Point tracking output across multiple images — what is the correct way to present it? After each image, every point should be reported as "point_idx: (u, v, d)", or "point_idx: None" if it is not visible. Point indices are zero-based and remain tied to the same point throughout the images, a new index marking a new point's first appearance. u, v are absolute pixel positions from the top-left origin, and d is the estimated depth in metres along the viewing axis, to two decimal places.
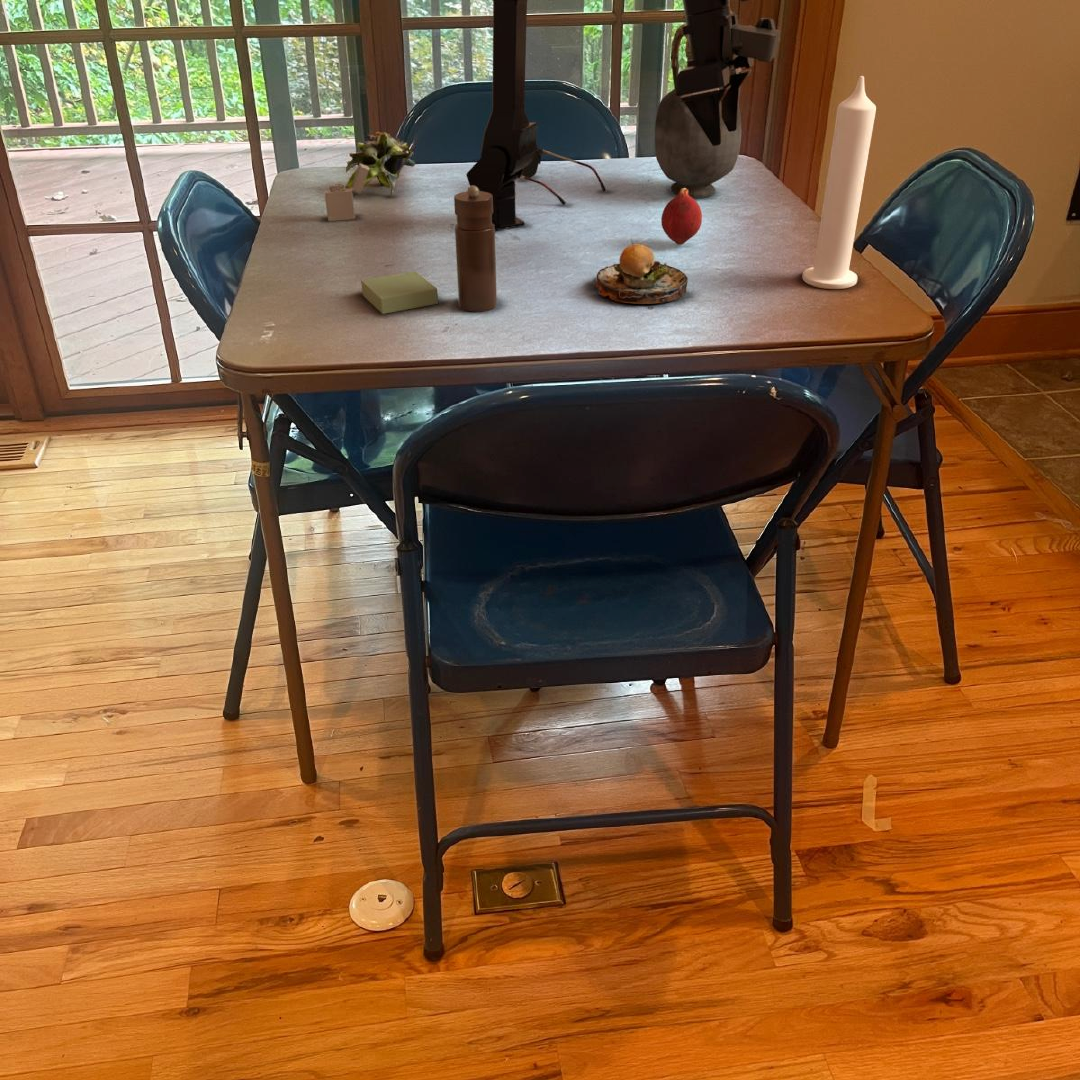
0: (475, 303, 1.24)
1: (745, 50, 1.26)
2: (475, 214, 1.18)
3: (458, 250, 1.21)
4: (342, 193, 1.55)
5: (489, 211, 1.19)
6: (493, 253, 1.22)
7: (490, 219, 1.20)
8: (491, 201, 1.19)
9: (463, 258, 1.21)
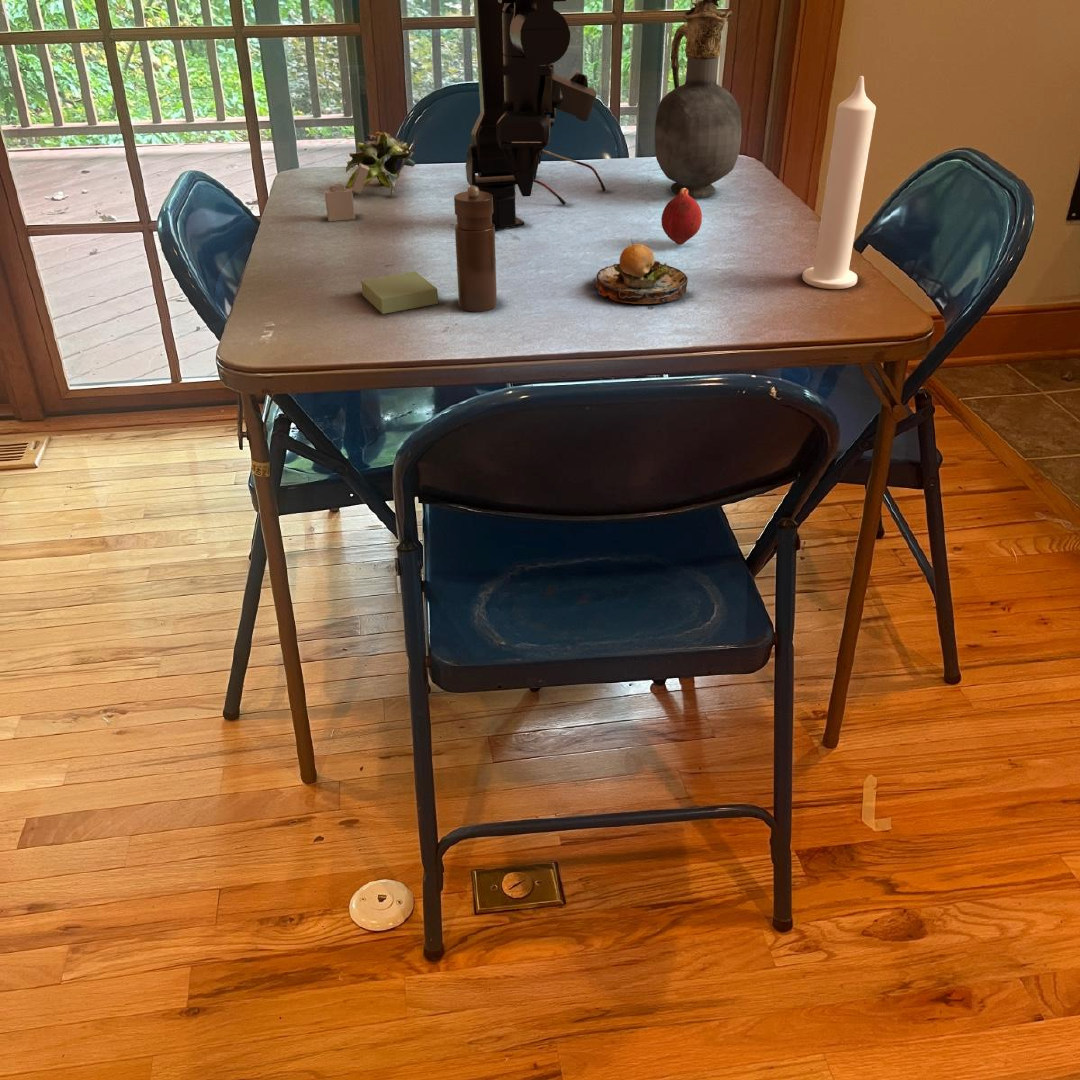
0: (475, 303, 1.24)
1: (564, 105, 1.22)
2: (475, 214, 1.18)
3: (458, 250, 1.21)
4: (342, 193, 1.55)
5: (489, 211, 1.19)
6: (493, 253, 1.22)
7: (490, 219, 1.20)
8: (491, 201, 1.19)
9: (463, 258, 1.21)
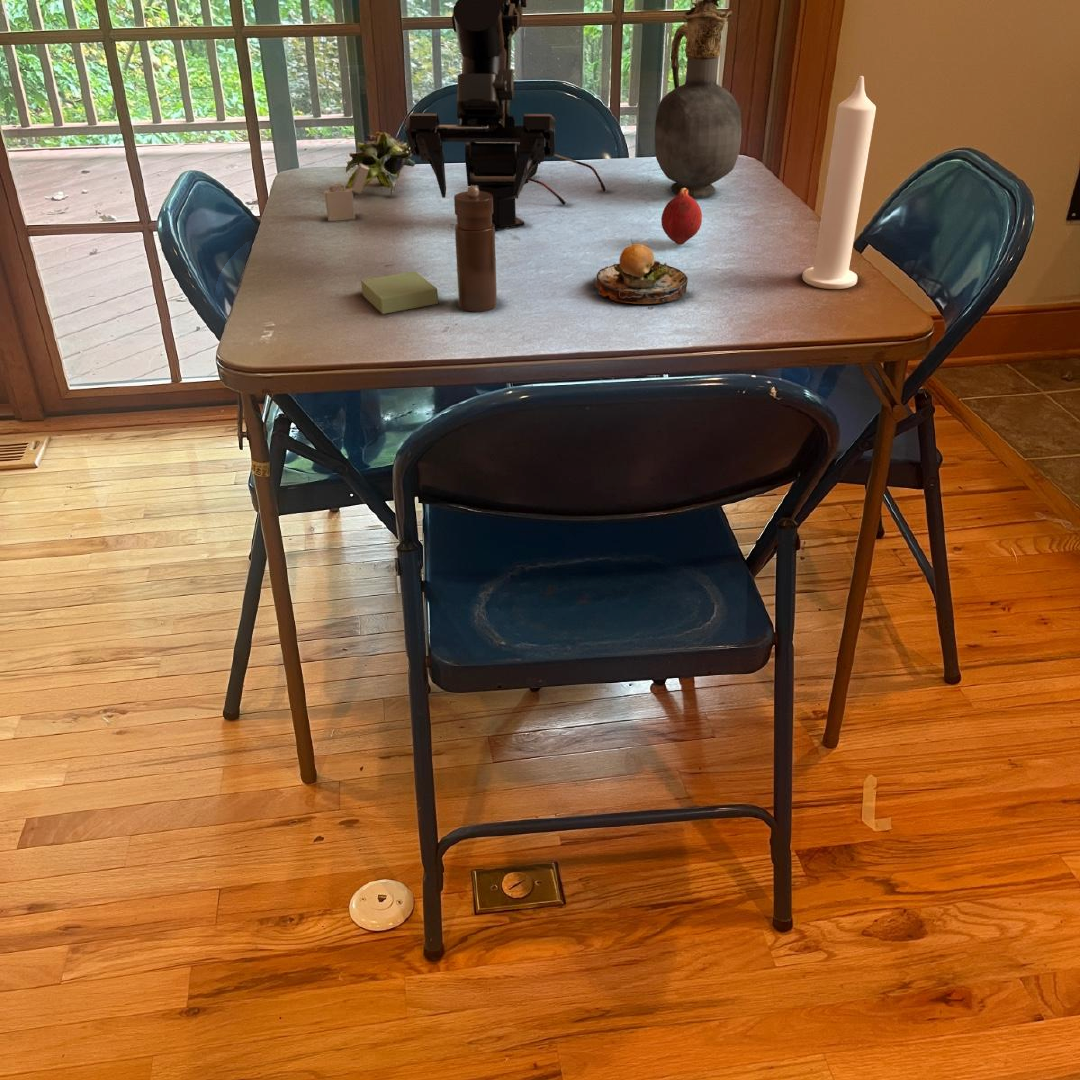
0: (475, 303, 1.24)
1: None
2: (475, 214, 1.18)
3: (458, 250, 1.21)
4: (342, 193, 1.55)
5: (489, 211, 1.19)
6: (493, 253, 1.22)
7: (490, 219, 1.20)
8: (491, 201, 1.19)
9: (463, 258, 1.21)
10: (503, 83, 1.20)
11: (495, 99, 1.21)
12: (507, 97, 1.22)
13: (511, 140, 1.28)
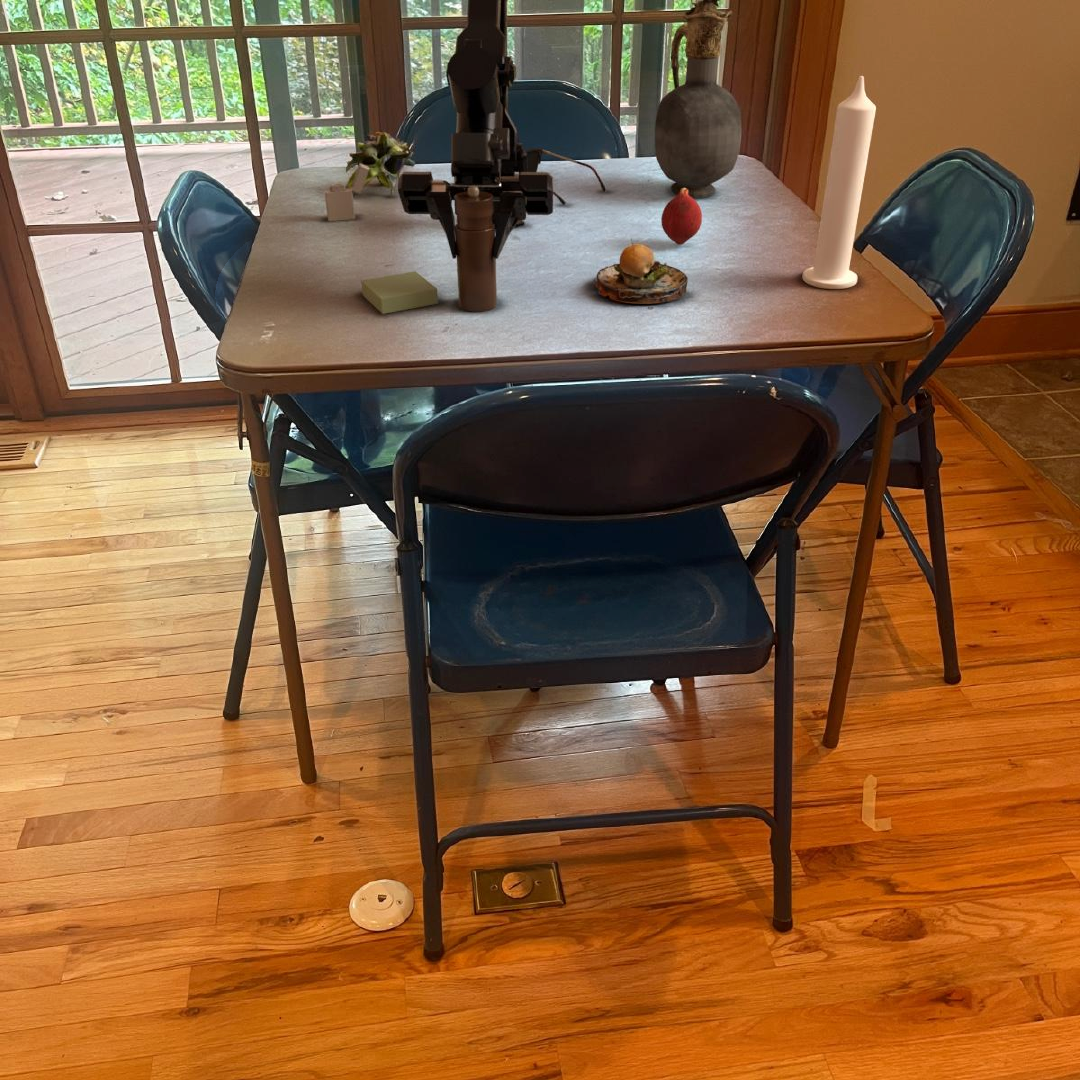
0: (476, 303, 1.24)
1: None
2: (475, 214, 1.18)
3: (458, 250, 1.21)
4: (342, 193, 1.55)
5: (489, 211, 1.19)
6: (493, 253, 1.22)
7: (490, 219, 1.20)
8: (491, 201, 1.19)
9: (463, 258, 1.21)
10: (499, 142, 1.16)
11: (490, 159, 1.16)
12: (503, 156, 1.18)
13: None
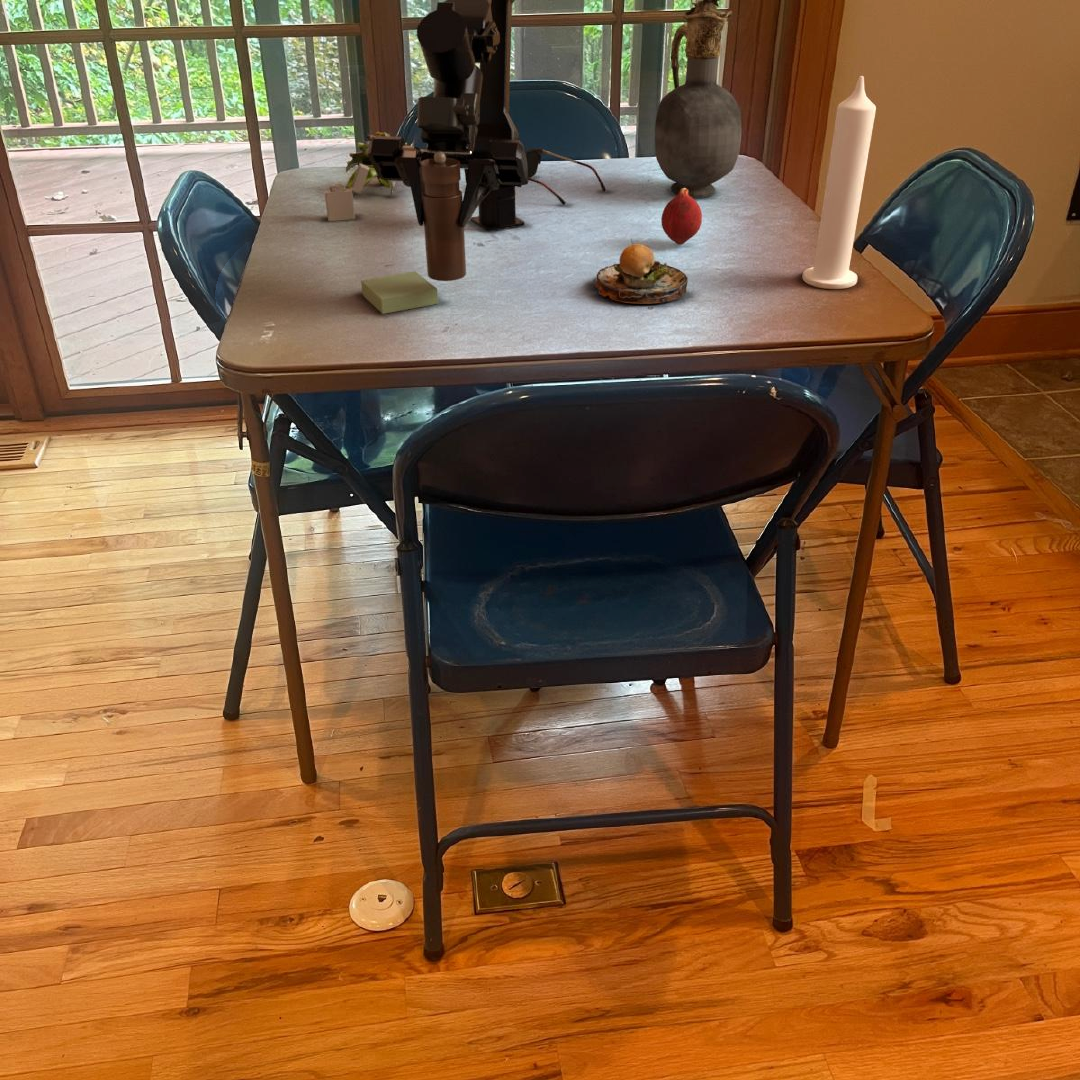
0: (442, 272, 1.22)
1: None
2: (439, 180, 1.16)
3: (424, 217, 1.20)
4: (342, 193, 1.55)
5: (455, 178, 1.17)
6: None
7: (456, 186, 1.18)
8: (457, 168, 1.17)
9: (429, 226, 1.20)
10: (464, 107, 1.14)
11: (456, 124, 1.14)
12: (470, 122, 1.16)
13: None
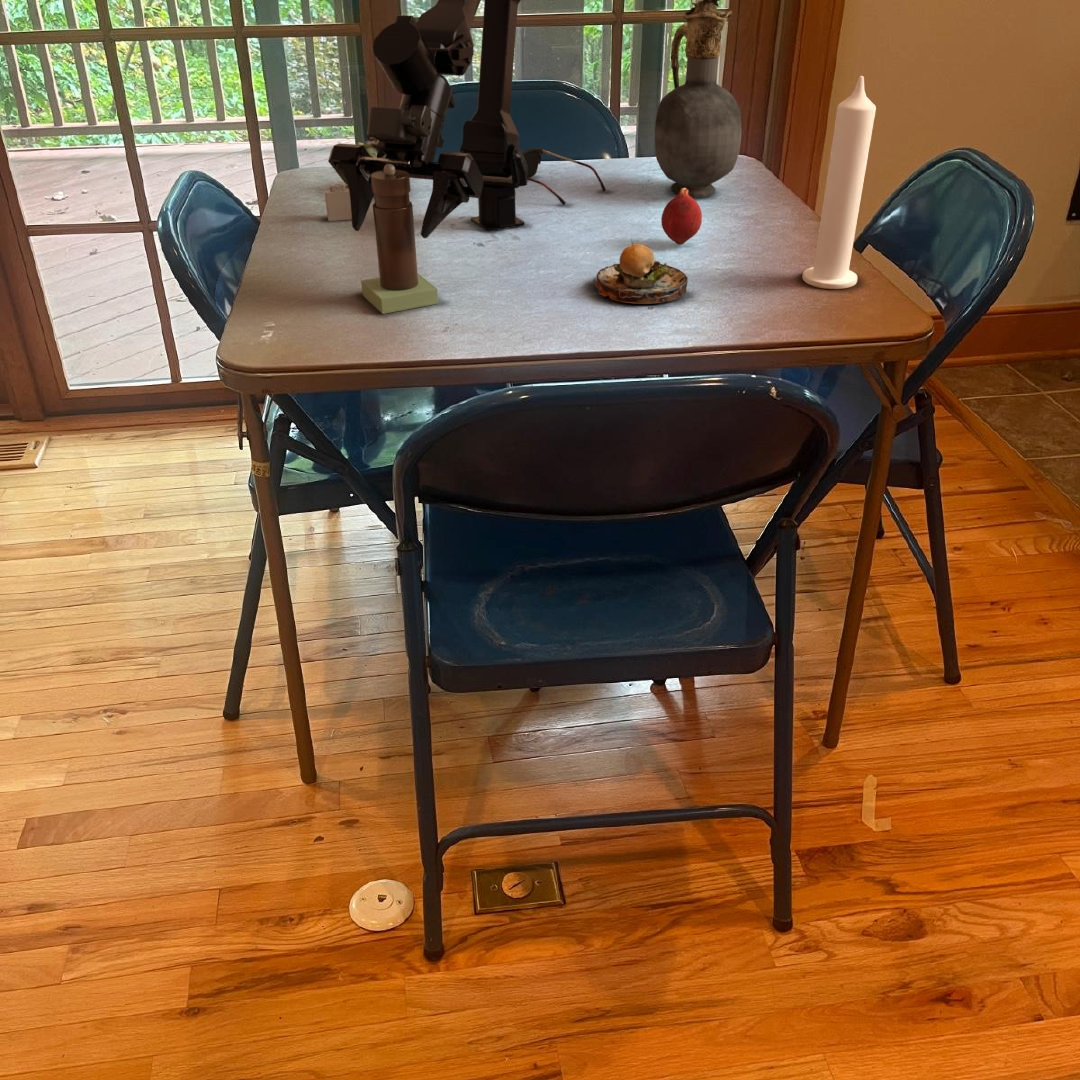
0: (390, 282, 1.25)
1: None
2: (385, 192, 1.19)
3: None
4: (342, 193, 1.55)
5: (401, 190, 1.19)
6: (408, 233, 1.22)
7: (404, 199, 1.20)
8: (404, 181, 1.19)
9: (377, 235, 1.22)
10: (410, 119, 1.15)
11: (402, 135, 1.16)
12: (419, 134, 1.17)
13: None
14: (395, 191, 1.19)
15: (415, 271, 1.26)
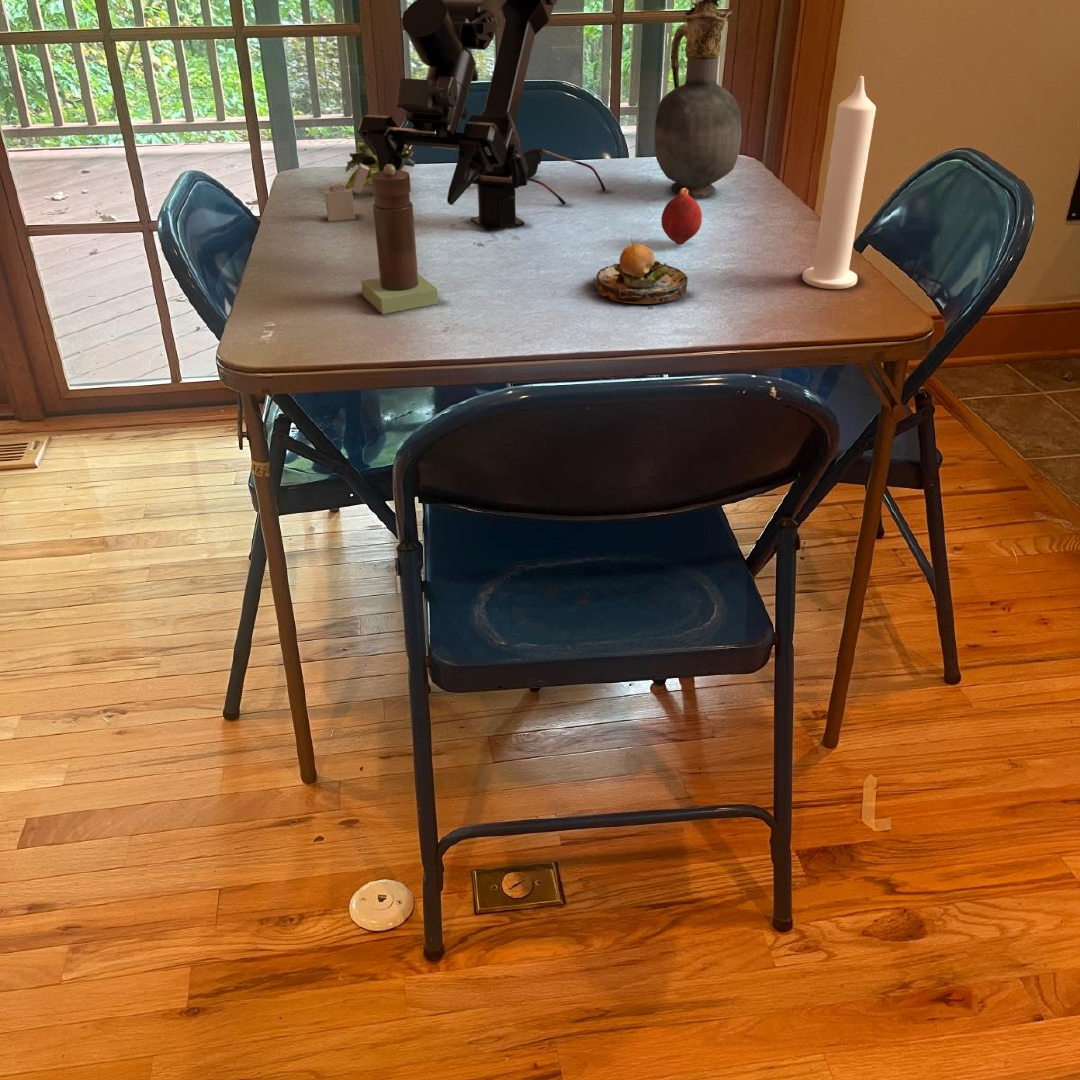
0: (390, 282, 1.25)
1: None
2: (385, 192, 1.19)
3: (375, 227, 1.23)
4: (342, 193, 1.55)
5: (401, 191, 1.19)
6: (408, 233, 1.22)
7: (404, 199, 1.20)
8: (404, 181, 1.19)
9: (378, 236, 1.22)
10: (438, 89, 1.21)
11: (430, 105, 1.21)
12: (446, 104, 1.22)
13: (458, 147, 1.28)
14: (395, 191, 1.19)
15: (415, 271, 1.26)
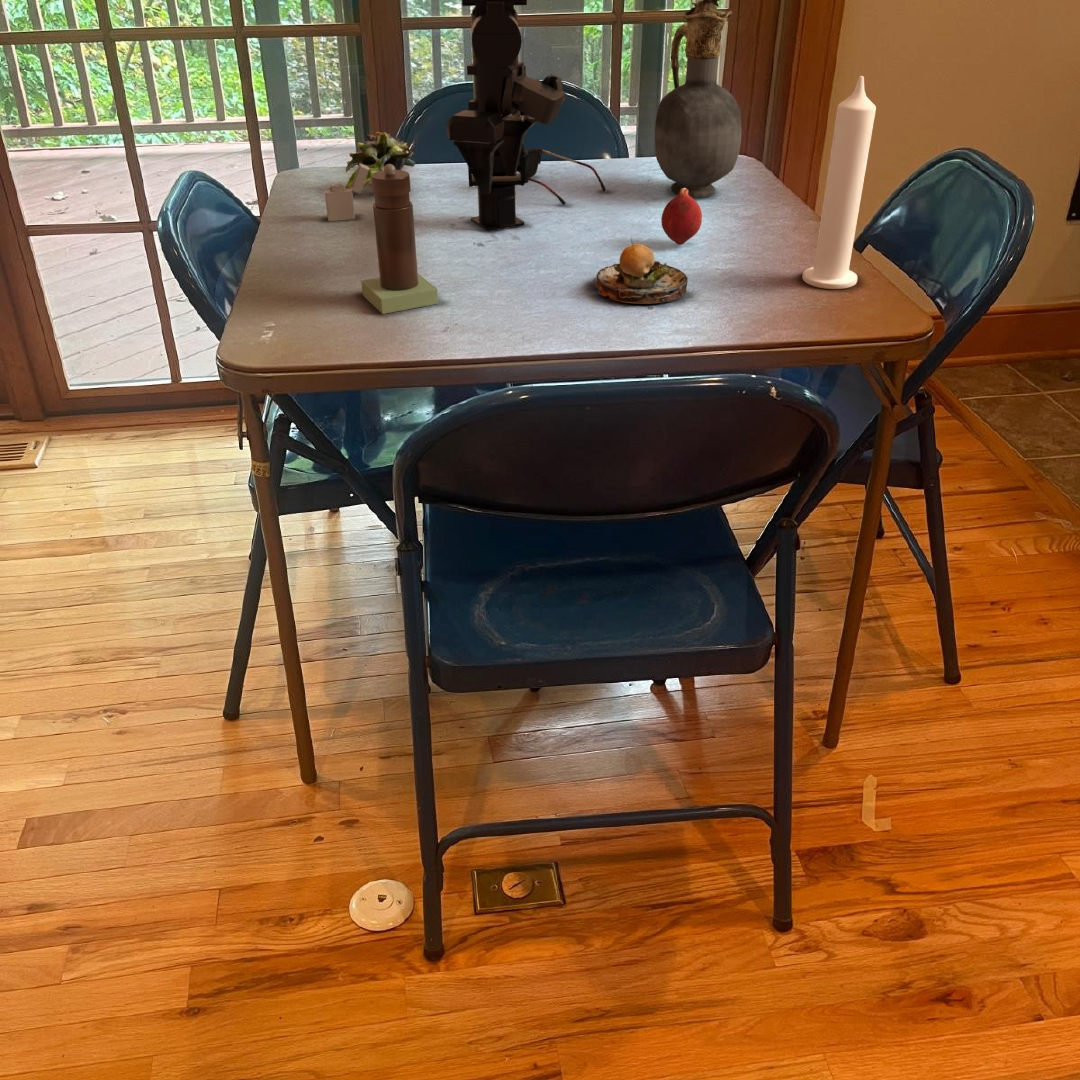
0: (390, 282, 1.25)
1: (524, 107, 1.24)
2: (385, 192, 1.19)
3: (375, 227, 1.23)
4: (342, 193, 1.55)
5: (401, 191, 1.19)
6: (408, 233, 1.22)
7: (404, 199, 1.20)
8: (404, 181, 1.19)
9: (378, 236, 1.22)
10: (564, 100, 1.27)
11: None
12: None
13: None
14: (395, 191, 1.19)
15: (415, 271, 1.26)
